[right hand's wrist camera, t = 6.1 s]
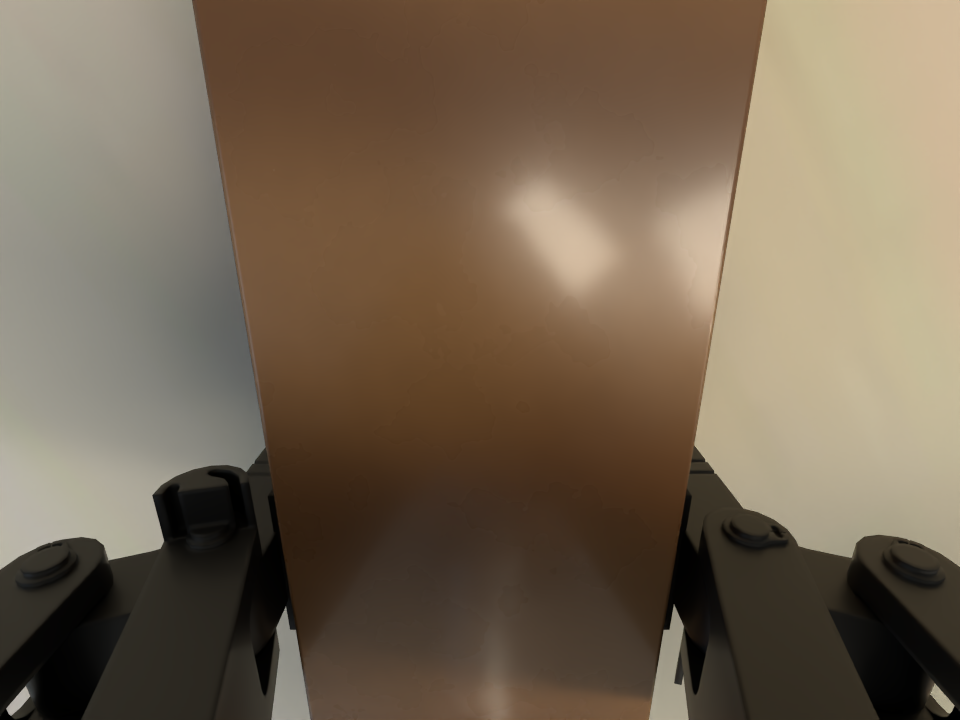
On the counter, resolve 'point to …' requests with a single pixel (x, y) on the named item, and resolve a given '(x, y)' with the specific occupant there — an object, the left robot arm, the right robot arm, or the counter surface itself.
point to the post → (479, 328)
